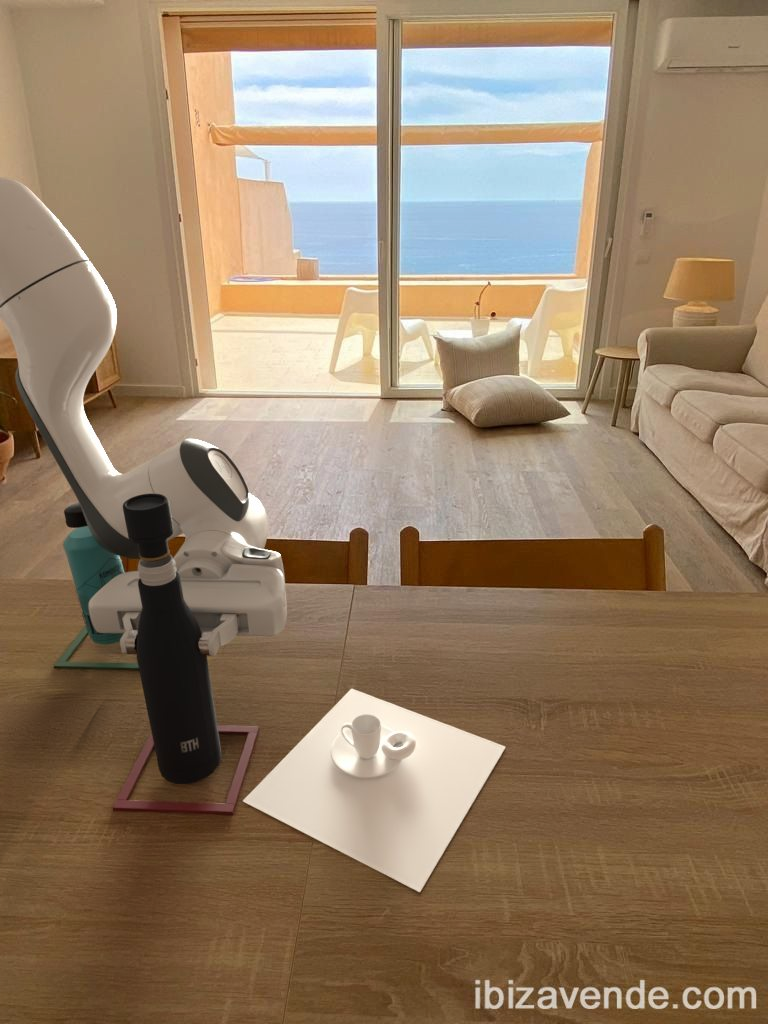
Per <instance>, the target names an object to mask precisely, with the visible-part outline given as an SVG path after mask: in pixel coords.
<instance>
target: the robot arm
mask: <svg viewBox="0 0 768 1024" xmlns="http://www.w3.org/2000/svg"><path fill="white" fill-rule="evenodd" d="M117 317H118V316H117V308H116V304H115V300H114V299H113V296H112V294H111V292H110V291H109V289H108V286H107V285H106V284H105V282H104V279H103V278H102V277H101V275H100V274H99V272H98V271H97V269H96V268H95V267H94V265H93V263H92V262H91V261H90V259H89V258H88V256H87V255H86V254H85V252H84V251H83V250H82V248H81V246H80V245H79V244H78V242H77V241H76V240H75V239H74V237H73V236H72V235H71V234H70V231H68V230H67V228H66V227H65V226H64V225H63V224H62V222H60V220H59V218H58V217H57V216H56V215H55V214H54V213H53V212H52V211H51V210H50V209H49V208H48V207H47V206H46V205H45V203H44V202H43V201H42V200H41V199H40V198H39V197H38V196H37V195H36V194H35V193H34V192H33V191H32V190H31V189H30V188H29V187H28V186H26V185H25V184H23V183H22V182H20V181H18V180H16V179H12V178H9V177H3V176H2V177H0V320H1V321H2V322H3V324H4V326H5V328H6V330H7V332H8V334H9V336H10V339H11V341H12V344H13V347H14V350H15V354H16V359H17V367H16V371H15V373H14V375H15V376H14V378H15V385H16V387H17V391H18V393H19V395H20V397H21V400H22V402H23V404H24V406H25V408H26V409H27V412H28V413H29V415H30V418H31V419H32V421H33V423H34V425H35V426H36V428H37V431H38V432H39V434H40V436H41V437H42V439H43V441H44V443H45V444H46V447H47V448H48V450H49V451H50V454H51V455H52V456H53V458H54V460H55V462H56V464H57V465H58V467H59V469H60V471H61V473H62V474H63V476H64V478H65V480H66V481H67V484H68V485H69V487H70V488H71V490H72V492H73V493H74V495H75V497H76V500H77V501H78V503H79V504H80V506H81V509H82V512H83V514H84V517H85V520H86V522H87V525H88V528H89V530H90V532H91V534H92V536H93V537H94V539H95V540H96V542H97V543H98V544H99V545H100V546H101V547H103V548H104V549H106V550H107V551H109V552H111V553H113V554H116V555H119V556H120V557H122V558H126V559H130V560H140V559H141V558H140V557H139V547H138V544H137V543H133V542H131V541H130V540H129V538H128V533H127V528H126V522H125V517H124V512H123V503H124V502H125V501H126V500H128V499H130V498H132V497H135V496H138V495H142V494H162V495H164V496H166V497H167V498H168V500H169V506H170V512H171V518H172V525H173V534H172V535H171V536H170V537H169V538H167V542H168V541H171V540H173V539H175V538H176V537H178V536H181V535H182V534H184V537H185V539H184V542H183V543H182V545H181V546H180V548H179V549H178V550H177V552H176V553H175V555H174V556H173V559H174V560H175V567H176V571H177V572H178V573H179V575H180V579H181V585H182V591H183V598H184V600H185V602H186V604H187V605H188V607H189V608H190V610H191V612H192V613H193V615H194V617H195V619H196V620H197V623H198V625H199V627H200V630H201V632H202V635H201V638H200V639H199V642H198V647H199V649H200V651H199V653H200V655H207V656H211V657H215V656H217V654H218V652H219V650H220V648H221V647H223V646H225V645H226V644H229V643H230V642H232V641H233V640H235V639H236V638H237V637H275V636H278V635H279V634H281V633H283V632H284V631H285V629H286V625H287V620H288V603H287V591H286V590H287V589H286V577H285V576H286V575H285V569H284V564H283V559H282V556H281V554H280V553H279V552H278V551H273V550H268V549H265V546H266V544H267V540H268V533H269V521H268V515H267V512H266V509H265V507H264V506H263V504H262V502H261V501H260V500H259V499H258V498H257V497H255V496H254V495H252V493H250V492H249V489H248V486H247V484H246V481H245V479H244V477H243V475H242V473H241V471H240V470H239V468H238V467H237V465H236V464H235V463H234V461H233V460H232V459H231V458H230V456H229V455H228V454H226V452H224V451H223V450H222V449H220V448H218V447H216V446H214V445H212V444H210V443H208V442H206V441H202V440H199V439H196V438H186V439H184V440H182V441H180V442H178V443H177V444H175V445H172V446H170V447H169V448H167V449H165V450H163V451H161V452H159V453H158V454H156V455H154V456H153V458H150V459H149V460H147V461H145V462H144V463H141V464H140V465H137V466H136V467H134V468H132V469H130V470H129V471H127V472H125V473H121V472H118V471H117V470H116V469H115V468H114V466H113V464H112V462H111V461H110V459H109V457H108V455H107V454H106V451H105V450H104V448H103V446H102V444H101V442H100V440H99V438H98V437H97V435H96V433H95V431H94V429H93V427H92V425H91V424H90V422H89V420H88V418H87V415H86V412H85V407H84V397H85V392H86V388H87V386H88V384H89V382H90V380H91V378H92V376H93V375H94V373H95V372H96V370H97V369H98V367H99V366H100V364H101V363H102V361H103V360H104V358H105V357H106V355H107V354H108V352H109V349H110V348H111V346H112V343H113V340H114V337H115V334H116V329H117V321H118V320H117ZM139 579H140V577H139V571H138V570H135V571H134V570H133V571H132V570H131V571H124V573H122V574H120V575H118V576H116V577H114V578H113V579H112V580H110V581H109V582H108V583H107V584H106V585H104V586H103V587H102V588H101V589H100V590H99V591H98V592H97V593H96V594H95V595H94V596H93V597H92V598H91V599H90V601H89V614H90V618H91V622H92V624H93V627H94V628H95V630H96V631H97V632H99V633H124V634H123V636H122V637H121V639H120V641H119V646H120V651H121V654H122V655H137V632H138V626H139V621H140V616H141V611H142V603H141V598H140V593H139V587H138V580H139Z"/></svg>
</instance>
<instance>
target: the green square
mask: <svg viewBox="0 0 768 1024" xmlns="http://www.w3.org/2000/svg"><path fill="white" fill-rule="evenodd" d="M86 627H87V625H85V626H84V627H83V628H82V629H81V631H80V632H79V633H78V634H77V636H76V637H75V638H74V639H73V641H72V642H71V643H70V645H69V646H68V647H67V649H65V651H64V652H63V654H61V655H60V657H59V659H57V661H56V662H55V664H54V665H53V668H54V669H61V670H62V669H63V670H67V669H69V670H106V671H107V670H109V671H118V670H119V671H139V667H138V662H106V661H105V662H104V661H103V662H101V661H69V660H70V658H72V656H73V655H74V653H75V652H76V650H77V649H78V648H79V647H80V645H81V644H82V643H83V642H84V640H85V639H86V638H87V637H88V636H89V635H88V634H89V631H87V630H88V628H87V629H86ZM87 632H88V633H87Z"/></svg>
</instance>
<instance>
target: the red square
mask: <svg viewBox="0 0 768 1024" xmlns="http://www.w3.org/2000/svg"><path fill="white" fill-rule="evenodd" d="M217 727H218V734H219V735H241V736H243V735H244V736H247V737H246V740H245V742H244V745H243V749H242V751H241V754H240V757H239V760H238V763H237V766H236V769H235V772H234V776H233V778H232V781H231V784H230V788H229V791H228V794H227V797H226V800H225V802H224V803H222V802H221V803H220V802H218V803H217V802H214V803H213V802H193V801H191V802H189V801H163V800H161V801H160V800H135V799H134V800H130V797H131V795H132V792H133V791H134V790H135V787H136V785H137V783H138V781H139V779H140V776H141V775H142V772H143V770H144V768H145V767H146V764H147V762H148V760H149V758H150V756H151V755H152V752H153V750H154V749H155V746H154V741H153V736H152V731H151V730H150V733H149V735H148V737H147V739H146V741H145V743H144V745H143V747H142V749H141V751H140V753H139V755H138V757H137V758H136V760H135V762H134V764H133V766H132V768H131V770H130V771H129V774H128V776H127V778H126V780H125V782H124V783H123V785H122V788H121V790H120V792H119V794H118V796H117V798H116V800H115V802H114V803H113V805H112V811H117V812H118V811H119V812H147V813H171V814H173V813H175V814H200V815H201V814H202V815H203V814H204V815H227V816H230V815H231V816H232V815H234V812H235V810H236V805H237V803H238V799H239V796H240V793H241V790H242V787H243V784H244V780H245V777H246V773H247V771H248V768H249V764H250V761H251V758H252V755H253V752H254V748H255V745H256V741H257V739H258V736H259V732H260V726H259V725H258V726H257V725H223V724H217Z"/></svg>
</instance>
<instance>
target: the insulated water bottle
mask: <svg viewBox="0 0 768 1024" xmlns="http://www.w3.org/2000/svg"><path fill="white" fill-rule="evenodd" d="M123 512H124V517H125V522H126V528H127V533H128V538H129V540H130V541H131V542H133V543H137V544H138V547H139V557H140V559H139V561H138V565H137V571H139V577H140V579H139V580H138V587H139V593H140V598H141V603H142V611H141V616H140V621H139V626H138V632H137V654H136V663H138V667H139V670H138V671H139V677H140V680H141V687H142V691H143V696H144V702H145V706H146V711H147V715H148V721H149V726H150V732H151V731H152V736H153V741H154V751H155V756H156V761H157V766H158V770H159V772H160V775H161V777H162V778H163V779H165V780H166V781H167V782H169V783H172V784H176V785H189V784H193V783H197V782H199V781H202V780H205V779H206V778H208V777H209V776H210V775H212V774H213V773H214V772H215V771H216V770H217V769H218V768H219V766H220V763H221V760H222V748H221V742H220V734H218V727H217V725H218V720H217V715H216V708H215V707H216V706H215V702H214V695H213V687H212V681H211V674H210V668H209V661H208V655H200V653H199V651H200V649H199V647H198V642H199V639H200V638H201V635H202V632H201V630H200V627H199V625H198V623H197V620H196V619H195V617H194V615H193V613H192V612H191V610H190V608H189V607H188V605H187V604H186V602H185V600H184V598H183V591H182V585H181V579H180V575H179V573H178V572H177V571H176V567H175V560H174V559H173V558H174V556H173V555H172V554H170V551H171V550H170V548H169V545H168V544H169V543H168V541H167V538H169V537H170V536H171V535H172V534H173V525H172V518H171V512H170V506H169V500H168V498H167V497H166V496H164V495H162V494H142V495H138V496H135V497H132V498H130V499H128V500H126V501H125V502H124V503H123Z"/></svg>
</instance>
